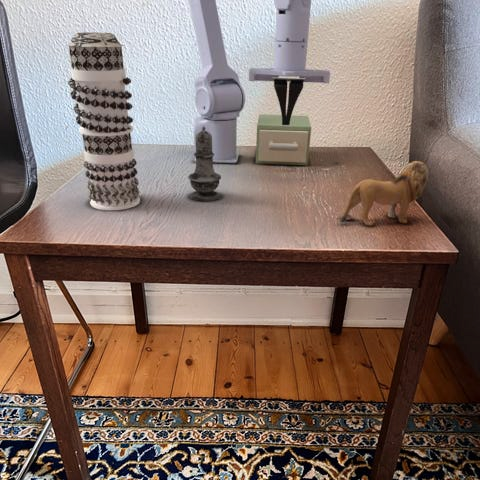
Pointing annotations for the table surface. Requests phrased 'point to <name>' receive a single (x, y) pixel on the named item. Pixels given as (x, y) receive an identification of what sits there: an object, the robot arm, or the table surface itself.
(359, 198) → the lion figurine
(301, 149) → the drawer
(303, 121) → the cabinet
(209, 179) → the stone fountain
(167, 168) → the table surface
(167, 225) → the table surface
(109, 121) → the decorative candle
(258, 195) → the table surface
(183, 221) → the table surface
